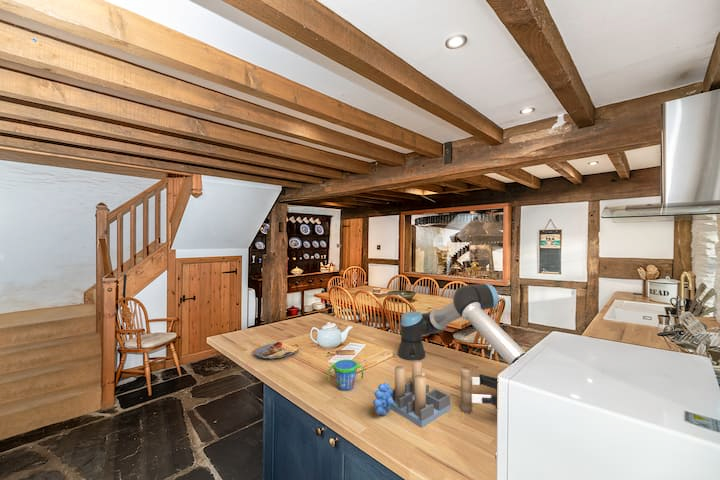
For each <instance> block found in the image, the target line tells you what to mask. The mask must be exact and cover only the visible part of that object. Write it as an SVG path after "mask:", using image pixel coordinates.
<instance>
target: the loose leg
mask: <svg viewBox="0 0 720 480" xmlns="http://www.w3.org/2000/svg"><path fill="white" fill-rule="evenodd" d="M472 377H473V368H471V367H469V366H461V367H460V411H461V413H463V412H464V413H463V414H465V413H471V412H472V413H473V403H472V394H473V385H472ZM472 413H471V414H472Z"/></svg>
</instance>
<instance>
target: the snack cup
mask: <svg viewBox="0 0 720 480" xmlns="http://www.w3.org/2000/svg"><path fill="white" fill-rule="evenodd" d="M358 368H359V369H361V380H363V378H364V369H363V366H362V365H361V364H359V363H358V362H357V361H356V360H352V359H341V360H337V361H335V362H334V363H333V365H331V366H330V367H329V369H328V371H327V378H328V381H329V382H330V381H331V378H330V371H332V370H334V375H335V381H336V386H337V388H338V389H339V390H341V391H351V390H352V389H354V388H355V384H356V378H357V377H356V376H357V371H358Z"/></svg>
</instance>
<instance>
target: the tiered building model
mask: <svg viewBox="0 0 720 480" xmlns="http://www.w3.org/2000/svg"><path fill="white" fill-rule="evenodd" d="M422 376H424V377H426V373H425V372H423V371H422ZM410 377H411V379H410V380H411V381H410V382H412V374H410Z"/></svg>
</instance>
